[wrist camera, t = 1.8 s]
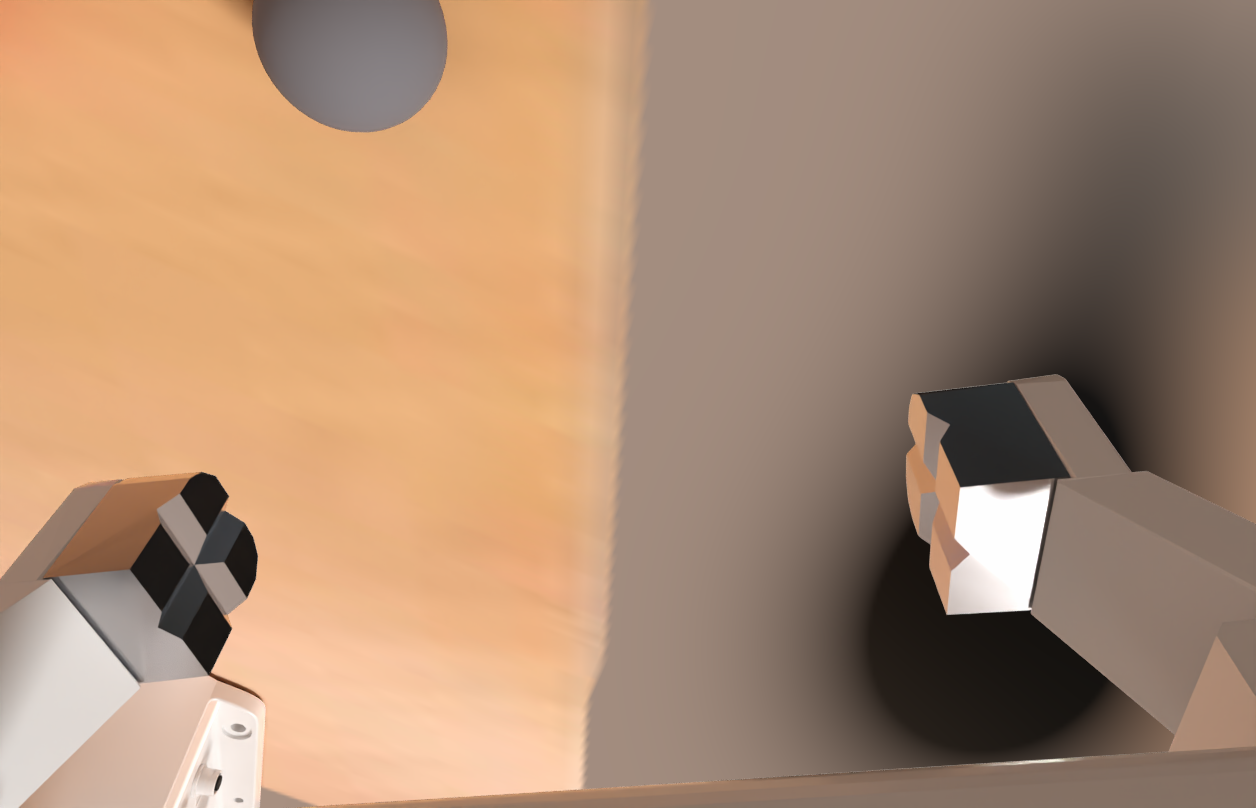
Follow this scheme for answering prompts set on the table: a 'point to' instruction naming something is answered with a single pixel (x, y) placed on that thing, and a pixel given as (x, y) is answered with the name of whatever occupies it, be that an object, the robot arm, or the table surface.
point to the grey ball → (352, 57)
